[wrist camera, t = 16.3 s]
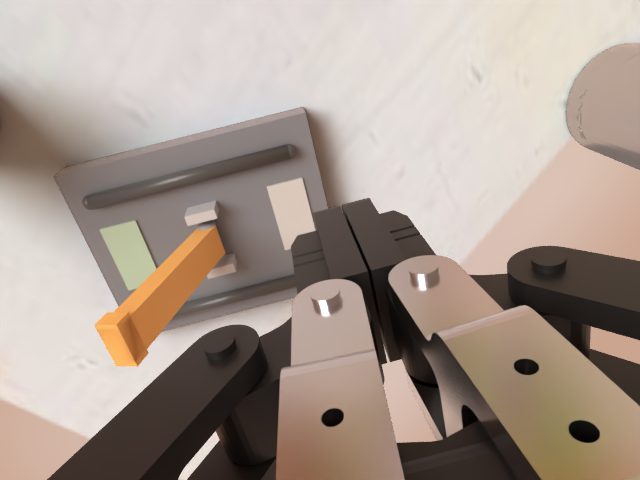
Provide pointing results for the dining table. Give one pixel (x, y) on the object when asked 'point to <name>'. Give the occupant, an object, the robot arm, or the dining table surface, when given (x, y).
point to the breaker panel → (203, 210)
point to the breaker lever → (160, 296)
